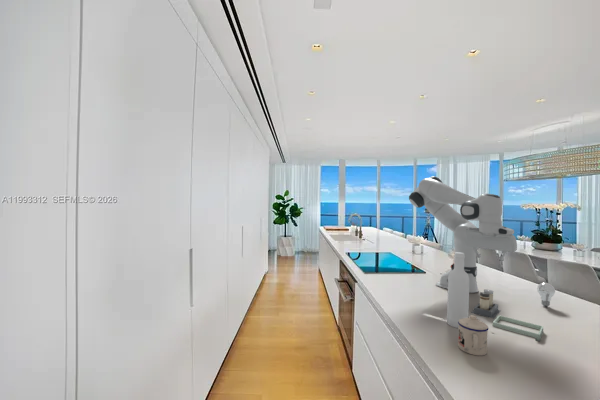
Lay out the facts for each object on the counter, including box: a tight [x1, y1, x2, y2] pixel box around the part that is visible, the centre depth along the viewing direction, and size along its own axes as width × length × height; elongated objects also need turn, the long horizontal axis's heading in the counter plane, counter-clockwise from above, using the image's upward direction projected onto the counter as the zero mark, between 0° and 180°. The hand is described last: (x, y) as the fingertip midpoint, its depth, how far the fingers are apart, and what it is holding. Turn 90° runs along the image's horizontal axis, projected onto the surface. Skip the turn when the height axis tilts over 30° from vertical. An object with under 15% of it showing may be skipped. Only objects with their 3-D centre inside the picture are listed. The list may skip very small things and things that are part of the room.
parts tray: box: [492, 314, 544, 342], centre depth 119 cm, size 15×11×2 cm
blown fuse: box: [479, 291, 490, 311], centre depth 134 cm, size 4×4×9 cm
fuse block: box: [470, 302, 502, 320], centre depth 136 cm, size 9×14×4 cm, turn 135°
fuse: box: [483, 288, 494, 307], centre depth 139 cm, size 4×4×9 cm
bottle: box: [446, 251, 470, 329], centre depth 123 cm, size 8×8×30 cm
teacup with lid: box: [457, 314, 489, 356], centre depth 101 cm, size 12×9×12 cm
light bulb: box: [536, 282, 556, 308], centre depth 148 cm, size 7×7×12 cm
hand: (489, 259), depth 135 cm, fingers open, 8 cm apart
